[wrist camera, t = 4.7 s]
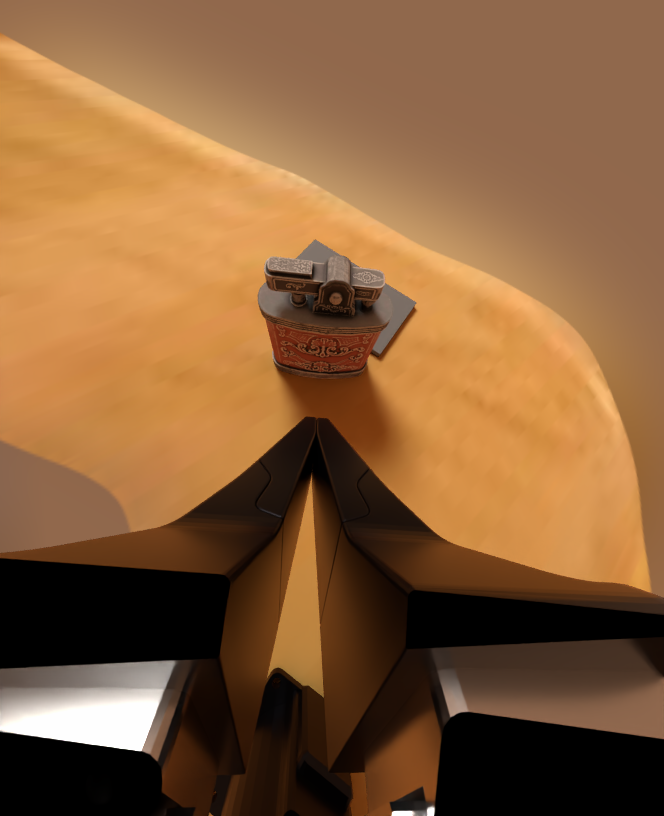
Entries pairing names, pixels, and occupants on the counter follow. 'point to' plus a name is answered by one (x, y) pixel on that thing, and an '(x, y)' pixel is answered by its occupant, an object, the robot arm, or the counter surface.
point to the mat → (400, 301)
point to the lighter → (323, 315)
